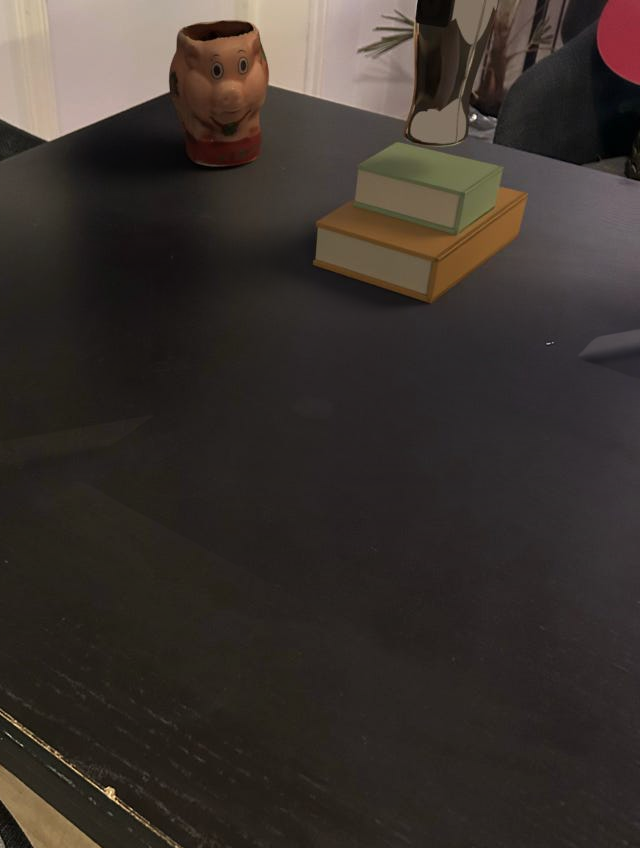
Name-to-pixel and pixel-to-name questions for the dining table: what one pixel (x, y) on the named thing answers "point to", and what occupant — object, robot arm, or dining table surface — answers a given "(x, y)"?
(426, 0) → the robot arm
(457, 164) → the small book
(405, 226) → the big book
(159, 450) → the dining table surface
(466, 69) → the beer glass
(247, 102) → the decorative planter
